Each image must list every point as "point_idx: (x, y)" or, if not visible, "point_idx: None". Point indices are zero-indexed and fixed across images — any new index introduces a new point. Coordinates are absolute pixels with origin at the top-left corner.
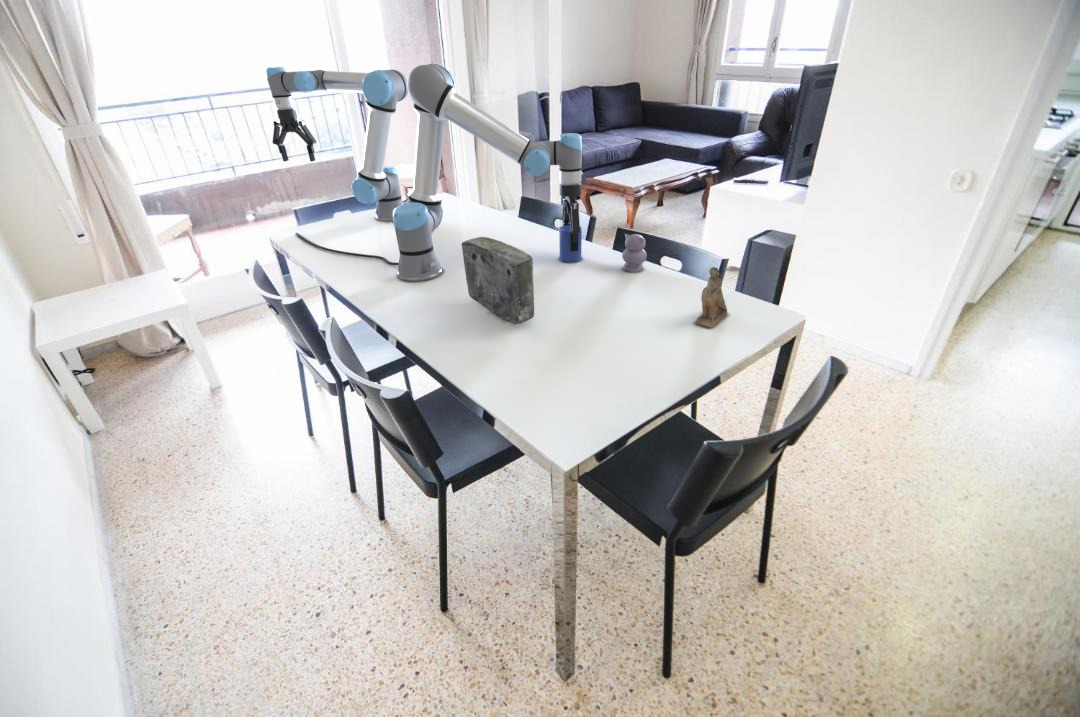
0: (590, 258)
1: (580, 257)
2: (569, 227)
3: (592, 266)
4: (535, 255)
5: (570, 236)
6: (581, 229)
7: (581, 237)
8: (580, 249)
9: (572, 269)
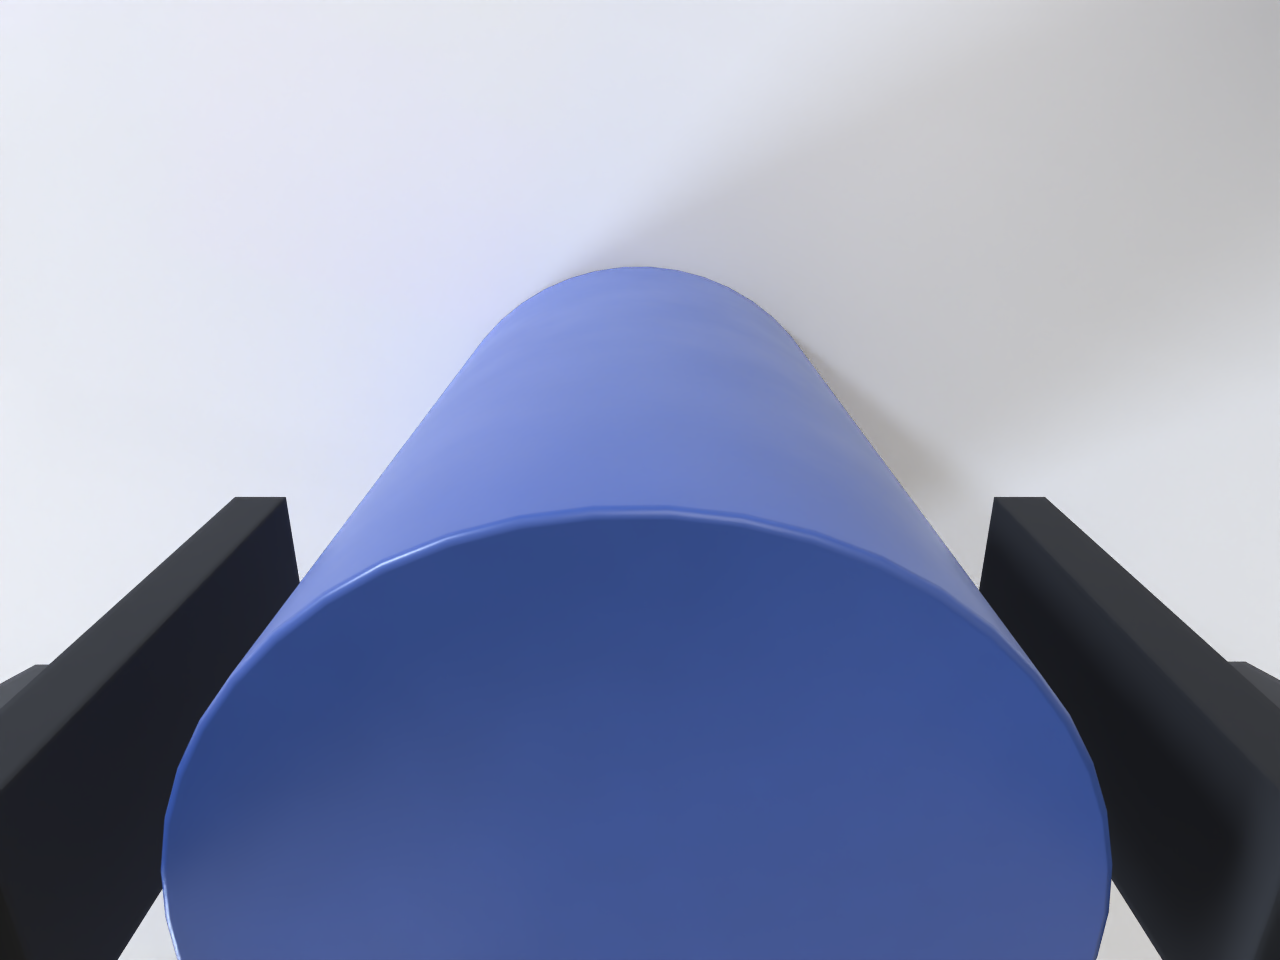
0: (713, 78)
1: (772, 322)
2: (532, 954)
3: (1146, 165)
4: None
5: (1179, 936)
6: (868, 539)
7: (775, 406)
8: (807, 367)
9: (1113, 536)
